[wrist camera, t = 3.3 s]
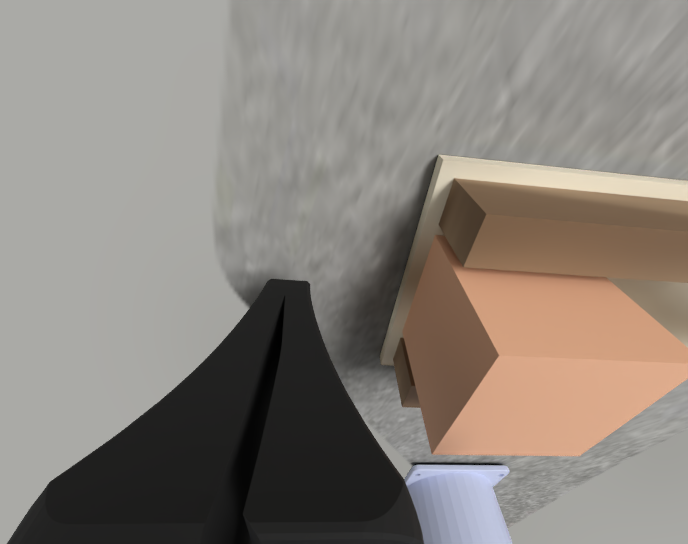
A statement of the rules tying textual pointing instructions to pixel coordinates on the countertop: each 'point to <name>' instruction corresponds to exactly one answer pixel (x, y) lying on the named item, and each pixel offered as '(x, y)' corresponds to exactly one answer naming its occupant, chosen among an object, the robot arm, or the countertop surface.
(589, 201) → the chute
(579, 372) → the terracotta block
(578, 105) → the countertop surface
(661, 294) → the board
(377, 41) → the countertop surface
